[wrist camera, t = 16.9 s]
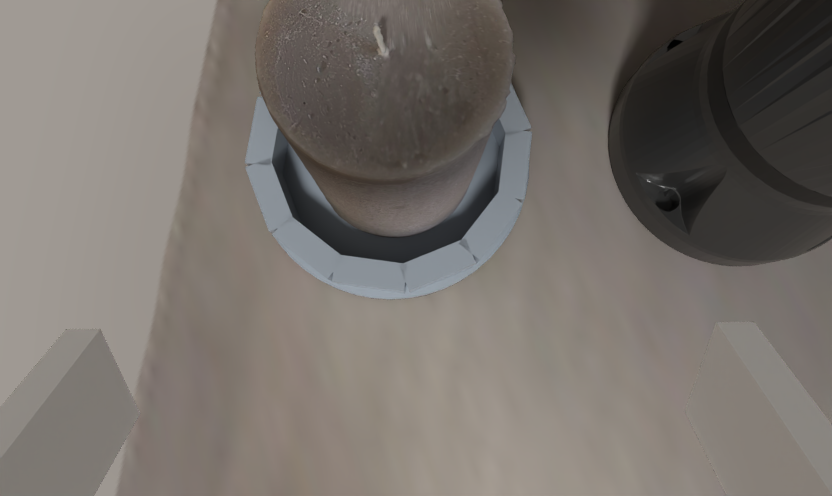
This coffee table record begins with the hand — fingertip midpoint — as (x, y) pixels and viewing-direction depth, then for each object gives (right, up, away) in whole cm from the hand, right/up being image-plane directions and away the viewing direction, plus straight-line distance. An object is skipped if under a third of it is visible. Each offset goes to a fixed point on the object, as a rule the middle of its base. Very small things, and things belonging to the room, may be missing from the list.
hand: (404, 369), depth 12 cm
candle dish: (-1, +8, +22) cm, 24 cm away
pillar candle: (-1, +8, +21) cm, 23 cm away
